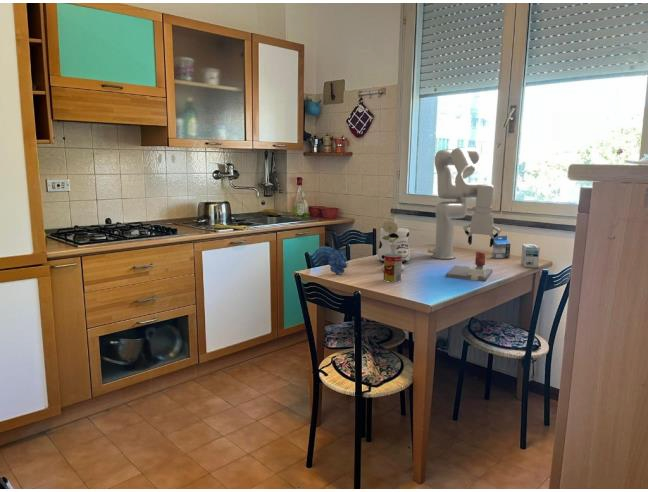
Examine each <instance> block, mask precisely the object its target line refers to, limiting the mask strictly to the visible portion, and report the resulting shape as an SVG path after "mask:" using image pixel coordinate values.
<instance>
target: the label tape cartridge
mask: <svg viewBox="0 0 648 492" xmlns="http://www.w3.org/2000/svg"><path fill="white" fill-rule="evenodd" d="M491 253H492V254H491V257H492V258H494V259H495V260H496V259H510V255H511V243H510V242H509V240H508V236H507V235H498V236H497V237H495V238H494V245H492V252H491Z"/></svg>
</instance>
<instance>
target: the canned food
mask: <svg viewBox="0 0 648 492" xmlns="http://www.w3.org/2000/svg"><path fill="white" fill-rule="evenodd" d="M383 264H384V269H383V281H384V280H385V281H389V282H398V283H400V282H399V281H401V282H402V271H401V265H402V264H403V263H402V255H401V254H396V253H388V254H384V262H383ZM385 281H384V282H385ZM389 282H388V283H389Z"/></svg>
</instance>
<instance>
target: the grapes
mask: <svg viewBox="0 0 648 492" xmlns="http://www.w3.org/2000/svg"><path fill="white" fill-rule="evenodd" d="M328 265H329V266H330V269H329V270H330V271H331V272H332V273H334V274H335V273H336V274H335V275H337V274H339V275H340V274H344V273H345V269H346V268H348V264H347V257H346V256H345V255H344V252H343V251H338V250H334V251H333V253H331V254H330V255H329V260H328Z"/></svg>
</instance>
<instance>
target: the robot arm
mask: <svg viewBox="0 0 648 492" xmlns="http://www.w3.org/2000/svg"><path fill="white" fill-rule="evenodd" d="M479 160H480V153H479V151H478V149H477V148H475V147H456V148H454V149H449V148H448V149H440V150H438V151H437V152H436V153H435V156H434V167H435V170H436V175H437V176H436V177H437V178H436V179H437V196H438V198H439V199H443V200H449V201H440V202H438V203H437V204H436V205H435V208H434V211H435V212H434V213H435V220H436V221H435V222H436V223H435V227H436V229H435V245H434V246H435V247H434V248H433V249H432V248H428V249H427V252H428V253H431V254H432V255H431V257H432V258H434V259H439V260H452V259H455V258H456V255H455V254H453V246H454V230H455V229H454V224H453V222H452V221H451V219H464V218H465V217H466V216H467V213H468V199H475V205H474V206H472V208H471V210H472V211H474V212H472V215H471V221H470V224H468V225H467V224H466V225H465V226H463V227H462V228H463V230H464V233H465V234H466V236H467V237H468V238H467V243H468V245H469V246H470V245H472V243H473V236H472V235H473V234H474V235H483V236H484V235H485V236H489V237H490V239H489V240H490V241H489V247H490V248H493V245H494V238H495V237H497V236H500V233H501V231H502V230H501V229H500V228H499V227H497V226H495V225H494V214H493V213H492V209H493V202H494V201H493V198H494V190H495V189H494V188H495V187H494V185H493V184H491V183H486V182H479V181H478V182H471V181H469V182H467V181H465V179H467V178H468V177H471V176H472V175H474V173H475V170H476V166H475V164H477V163H478V162H479ZM449 166H454V168H455V169H456V172H457V173H456V176H455V179H454V173H453V170H452V169H451V167H449ZM450 200H451V201H450ZM452 200H454V201H452ZM468 229H469V230H470V232H469V230H468ZM494 231H496V233H495V234H494Z"/></svg>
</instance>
